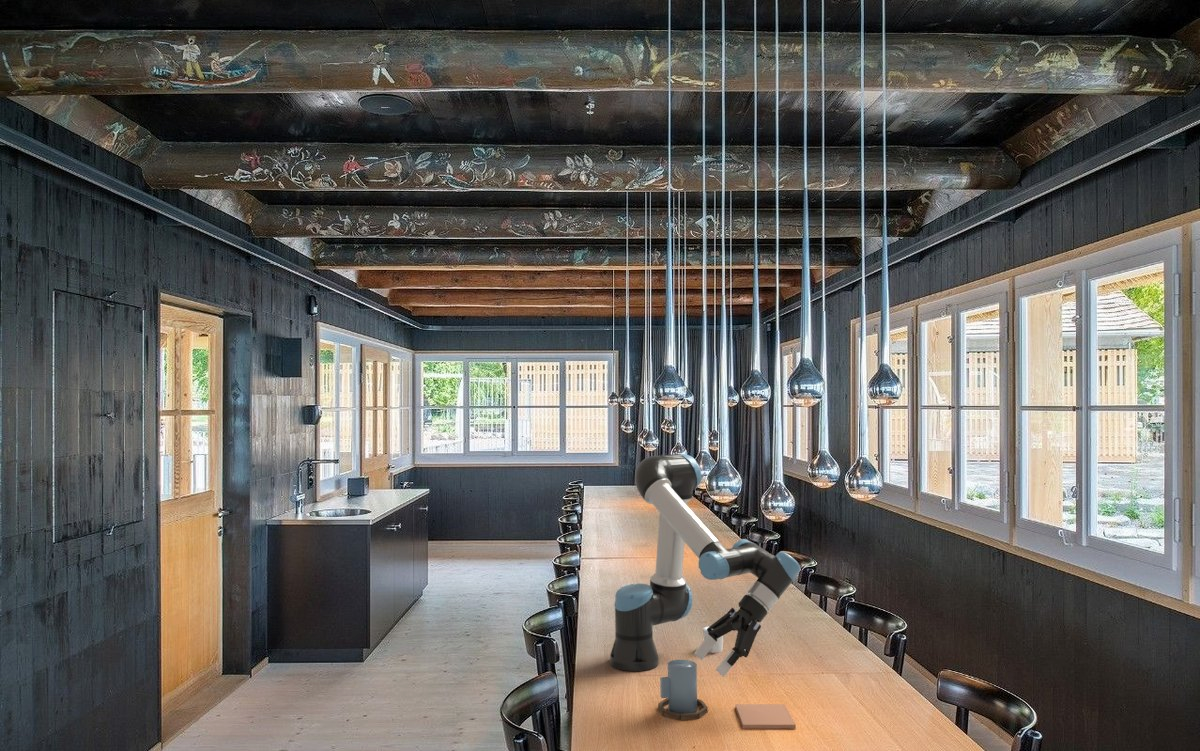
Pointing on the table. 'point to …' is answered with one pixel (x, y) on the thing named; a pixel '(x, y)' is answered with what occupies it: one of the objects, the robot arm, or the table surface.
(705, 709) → the walnut collar
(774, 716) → the terracotta tile
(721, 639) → the white tapered cylinder
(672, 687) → the grey canister
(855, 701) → the table surface
